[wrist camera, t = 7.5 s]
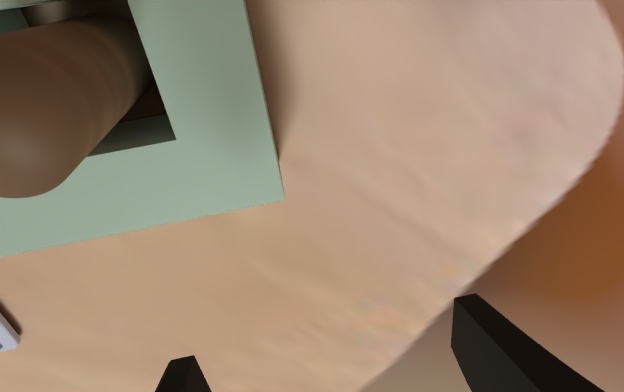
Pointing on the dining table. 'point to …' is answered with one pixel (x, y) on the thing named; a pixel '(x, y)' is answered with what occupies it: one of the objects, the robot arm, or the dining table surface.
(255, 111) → the socket block
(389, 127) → the dining table surface
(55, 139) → the walnut peg
